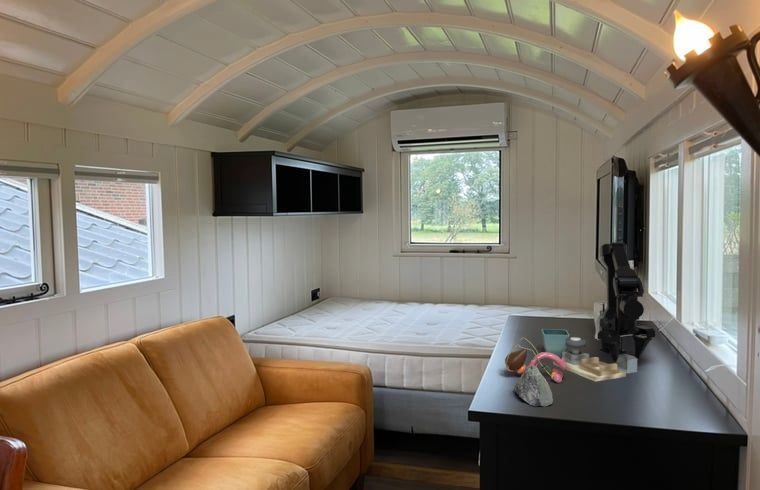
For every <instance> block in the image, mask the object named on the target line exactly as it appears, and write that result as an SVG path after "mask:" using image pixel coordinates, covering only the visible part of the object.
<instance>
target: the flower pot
mask: <svg viewBox="0 0 760 490" xmlns="http://www.w3.org/2000/svg"><path fill="white" fill-rule="evenodd" d="M567 338H570V334H569V332H568V330H567V329H559V328H558V329H556V328H555V329H554V328H553V329H552V328H541V339H542V345H543V348H544V350H545V351H544V352H549V353H553V354H555V355H557V356H558V357H560V358H561V359H562V352H566V351H568V349H569V347H568V346H566V345H565V339H567Z"/></svg>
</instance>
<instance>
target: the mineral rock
mask: <svg viewBox="0 0 760 490" xmlns="http://www.w3.org/2000/svg"><path fill="white" fill-rule="evenodd" d="M542 374H543V373H541V372H540V369H539V368H538V366H537V367H536V366H534V365H532V366H530V367H528V368H526V369H525V371H524V373H523V375H522V374H521V376H520V377H519V378H517V379H516V383H515V385H514V390H515V392H516V394H517V395H518V397H519V398H521V399H522V400H523V401H525V402H526V403H527V404H528V405H531V406H534V407H547V406H550V405H552V404H553V402H554V399H553V392H552V390H551V387H550V385H549V382H548V381H547V380H546V378H545V377H544V375H542Z"/></svg>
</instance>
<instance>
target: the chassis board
mask: <svg viewBox="0 0 760 490" xmlns="http://www.w3.org/2000/svg"><path fill="white" fill-rule="evenodd" d="M562 358H564V360H565V362H566V364H567V368H566V369H565V370H566V371H568V372H571V373H573V374H576V375H578V376H580V377H583V378H586V379H587V380H590V381H592V382H600V381H607V380H613V379H620V378H626V377H627V373H625V372H622V371H620V368H618V367H617V364H616V362H614V363H607V362H604V361H600V358H599V357H597V356H594V357H593V356H592V357H590V354H589V353H586V352H583V351H580V350H579V354H578V355H574V354H572V350H567V351H566V352H562ZM562 358H561V359H562ZM553 365H554V366H555V367H558V368H560V367H559V365H557V364H556V363H555V362H553V361H552V366H553ZM565 370H564V371H565Z"/></svg>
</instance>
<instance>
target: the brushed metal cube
mask: <svg viewBox="0 0 760 490" xmlns="http://www.w3.org/2000/svg"><path fill="white" fill-rule="evenodd" d="M615 364H617V367H618V368H620V371H622V372H625V373H626V374H631V373H632V374H633V373H637V372H638V359H637V358H636V356H635V355H630V354H628V353H622V354H620V353H619V355H618V359H617V362H615Z"/></svg>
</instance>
